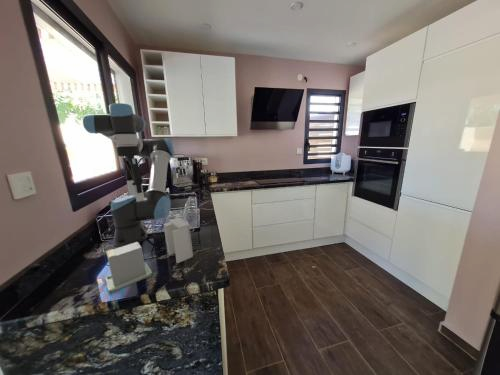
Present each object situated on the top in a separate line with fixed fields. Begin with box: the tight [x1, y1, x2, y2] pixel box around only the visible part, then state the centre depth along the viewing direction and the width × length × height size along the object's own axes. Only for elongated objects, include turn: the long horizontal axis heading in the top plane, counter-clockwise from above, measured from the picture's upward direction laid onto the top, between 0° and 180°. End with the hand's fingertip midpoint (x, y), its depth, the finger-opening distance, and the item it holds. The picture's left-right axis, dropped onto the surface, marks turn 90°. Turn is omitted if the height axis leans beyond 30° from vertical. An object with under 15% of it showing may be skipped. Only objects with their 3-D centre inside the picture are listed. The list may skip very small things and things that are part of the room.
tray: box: [104, 261, 153, 294], centre depth 73 cm, size 10×14×1 cm
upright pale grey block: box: [105, 242, 146, 287], centre depth 72 cm, size 6×10×11 cm, turn 131°
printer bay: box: [163, 217, 194, 264], centre depth 85 cm, size 11×7×15 cm, turn 41°
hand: (136, 197), depth 82 cm, fingers open, 13 cm apart
